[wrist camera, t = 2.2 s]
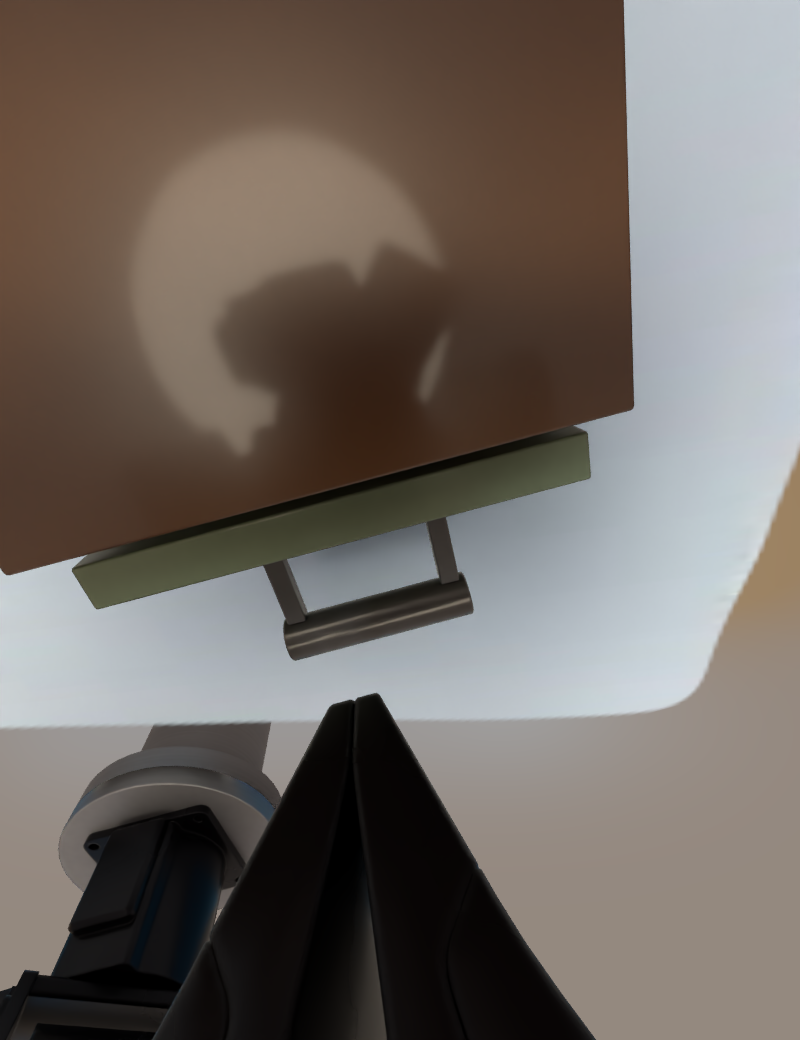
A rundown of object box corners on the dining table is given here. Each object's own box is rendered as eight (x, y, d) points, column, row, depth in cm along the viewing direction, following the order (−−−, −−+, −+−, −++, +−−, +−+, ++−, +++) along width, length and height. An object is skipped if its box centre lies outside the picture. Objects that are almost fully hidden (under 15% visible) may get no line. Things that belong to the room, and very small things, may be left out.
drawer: (519, 531, 19) (602, 631, 13) (232, 607, 19) (179, 744, 13) (421, -144, 11) (511, -704, 5) (-64, -18, 11) (-560, -429, 5)
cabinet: (505, 370, 17) (635, 410, 10) (158, 462, 17) (4, 578, 10) (414, -288, 11) (584, -1777, 3) (-134, -145, 11) (-1322, -1305, 3)
